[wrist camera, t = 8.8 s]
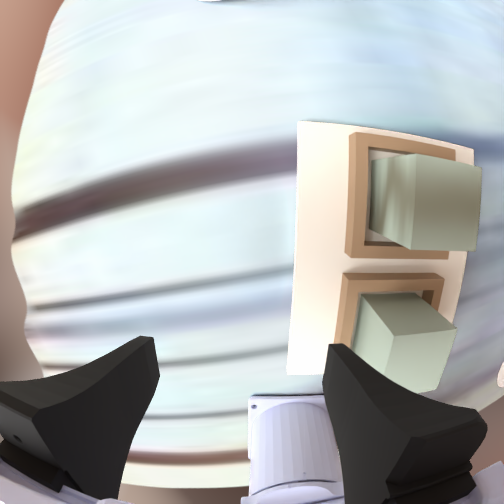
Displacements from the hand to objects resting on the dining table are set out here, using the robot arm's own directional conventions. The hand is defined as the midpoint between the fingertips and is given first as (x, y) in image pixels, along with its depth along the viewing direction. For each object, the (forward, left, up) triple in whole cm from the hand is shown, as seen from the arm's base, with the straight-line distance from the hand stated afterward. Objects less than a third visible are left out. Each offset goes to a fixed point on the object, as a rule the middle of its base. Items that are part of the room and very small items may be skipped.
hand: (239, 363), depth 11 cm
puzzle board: (+2, -10, -9) cm, 14 cm away
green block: (+7, -10, -8) cm, 15 cm away
